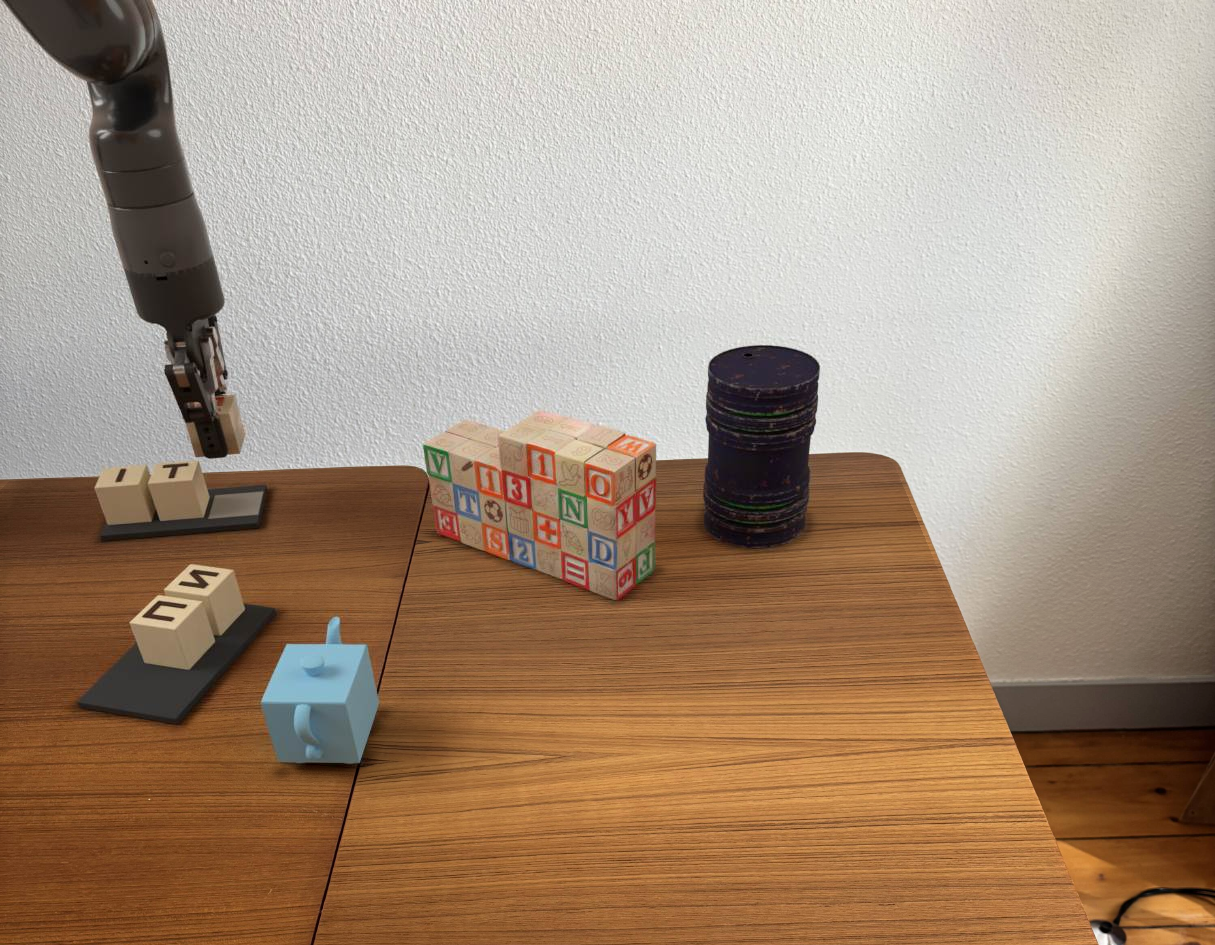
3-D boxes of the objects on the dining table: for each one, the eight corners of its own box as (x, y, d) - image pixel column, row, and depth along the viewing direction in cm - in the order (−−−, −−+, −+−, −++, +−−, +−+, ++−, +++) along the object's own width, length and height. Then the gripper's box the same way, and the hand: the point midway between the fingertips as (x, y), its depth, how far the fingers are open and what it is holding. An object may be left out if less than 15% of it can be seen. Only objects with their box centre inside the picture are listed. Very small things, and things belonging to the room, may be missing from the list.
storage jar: (825, 534, 106) (843, 376, 96) (732, 558, 104) (739, 398, 93) (774, 489, 113) (785, 337, 103) (685, 510, 110) (687, 356, 100)
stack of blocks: (434, 535, 108) (416, 410, 100) (477, 508, 112) (462, 385, 104) (618, 602, 99) (614, 469, 90) (657, 569, 103) (657, 440, 94)
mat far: (101, 541, 109) (84, 496, 106) (118, 501, 115) (103, 458, 112) (258, 528, 110) (246, 483, 107) (267, 489, 116) (256, 446, 113)
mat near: (78, 707, 90) (57, 659, 87) (186, 600, 101) (171, 553, 98) (177, 725, 88) (159, 675, 85) (276, 613, 99) (264, 566, 96)
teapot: (315, 685, 91) (294, 606, 86) (389, 686, 91) (373, 606, 86) (275, 785, 82) (249, 703, 77) (357, 786, 82) (337, 703, 77)
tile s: (240, 454, 107) (229, 411, 104) (195, 457, 107) (182, 415, 104) (245, 434, 110) (234, 393, 107) (201, 438, 110) (189, 396, 107)
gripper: (138, 232, 102) (192, 417, 113) (104, 286, 91) (167, 483, 103) (222, 226, 102) (268, 411, 114) (198, 279, 92) (251, 476, 103)
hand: (220, 444), depth 108 cm, fingers closed on tile s, 4 cm apart
